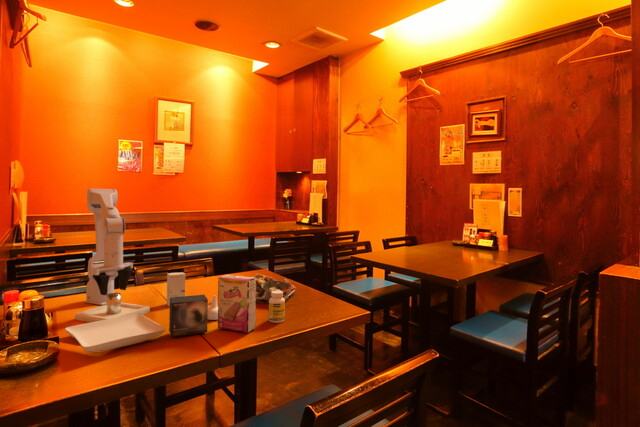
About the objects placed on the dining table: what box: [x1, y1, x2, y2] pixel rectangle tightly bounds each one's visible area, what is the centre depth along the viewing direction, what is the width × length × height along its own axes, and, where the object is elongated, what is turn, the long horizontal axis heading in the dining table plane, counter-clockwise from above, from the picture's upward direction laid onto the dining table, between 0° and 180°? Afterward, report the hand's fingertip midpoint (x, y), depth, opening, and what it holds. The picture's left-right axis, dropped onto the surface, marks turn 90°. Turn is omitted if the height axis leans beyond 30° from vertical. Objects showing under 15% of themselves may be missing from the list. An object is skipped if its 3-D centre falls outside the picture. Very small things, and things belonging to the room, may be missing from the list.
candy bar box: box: [217, 274, 257, 334], centre depth 117 cm, size 11×5×16 cm, turn 71°
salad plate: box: [64, 314, 167, 353], centre depth 108 cm, size 21×21×3 cm
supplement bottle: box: [268, 291, 286, 324], centre depth 126 cm, size 5×5×10 cm
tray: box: [74, 301, 151, 323], centre depth 128 cm, size 16×16×2 cm
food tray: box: [209, 273, 297, 305], centre depth 151 cm, size 35×26×11 cm
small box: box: [168, 294, 209, 338], centre depth 114 cm, size 11×6×10 cm, turn 117°
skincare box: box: [166, 271, 186, 308], centre depth 142 cm, size 6×4×12 cm
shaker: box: [107, 292, 122, 315], centre depth 128 cm, size 4×4×6 cm
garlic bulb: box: [207, 294, 218, 321], centre depth 127 cm, size 6×6×8 cm
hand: (113, 292), depth 128 cm, fingers open, 7 cm apart
